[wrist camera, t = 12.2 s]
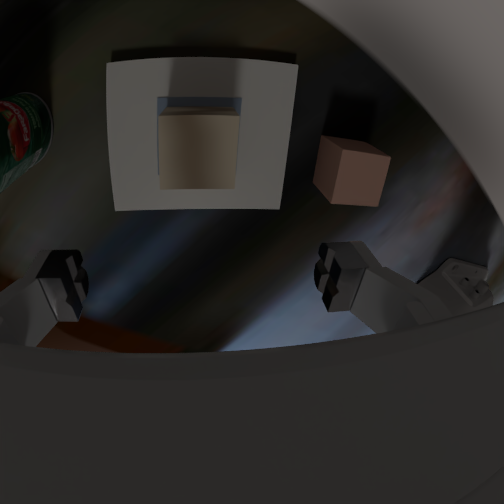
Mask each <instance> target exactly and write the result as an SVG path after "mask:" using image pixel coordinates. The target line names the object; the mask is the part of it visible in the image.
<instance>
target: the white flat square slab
mask: <svg viewBox="0 0 504 504" xmlns="http://www.w3.org/2000/svg"><path fill="white" fill-rule="evenodd" d="M297 72H298V65H295V64H288V63H281V62H273V61H263V60H253V59H240V58H220V57H171V58H152V59H139V60H129V61H120V62H112V63H107V73H106V102H107V131H108V147H109V160H110V171H111V181H112V189H113V198H114V205H115V211H126V210H157V209H280V202H281V195H282V188H283V181H284V173H285V166H286V159H287V151H288V144H289V136H290V129H291V121H292V113H293V105H294V97H295V89H296V81H297ZM182 106H212V107H233V108H234V109H235V110H236V112H237V113H238V114H239V115H240V122H239V135H238V148H237V162H236V176H235V189H171V190H160V179H159V143H158V116H159V115H160V114H161V113H162V111H163V110H164V109H165V108H166V107H182Z"/></svg>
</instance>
